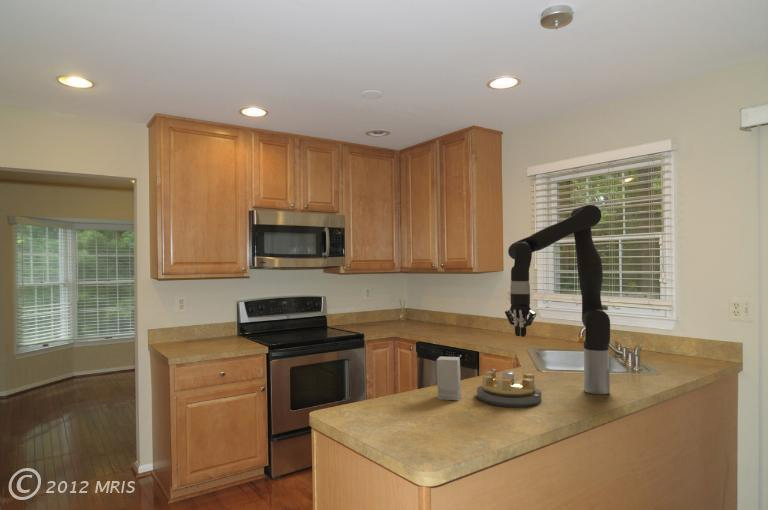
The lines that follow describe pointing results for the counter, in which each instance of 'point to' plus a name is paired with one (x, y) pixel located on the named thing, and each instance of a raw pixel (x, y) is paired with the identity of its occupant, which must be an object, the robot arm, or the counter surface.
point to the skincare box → (448, 378)
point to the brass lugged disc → (508, 384)
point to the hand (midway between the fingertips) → (520, 336)
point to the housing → (509, 399)
